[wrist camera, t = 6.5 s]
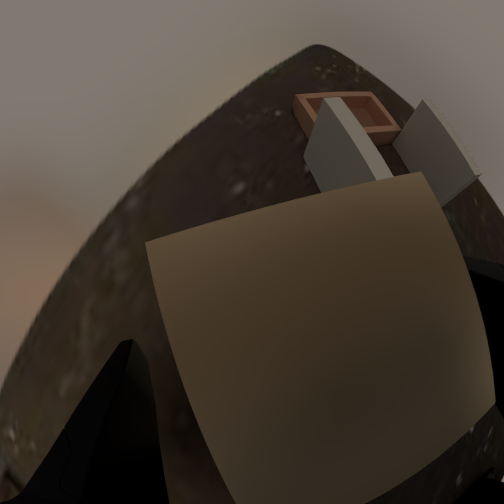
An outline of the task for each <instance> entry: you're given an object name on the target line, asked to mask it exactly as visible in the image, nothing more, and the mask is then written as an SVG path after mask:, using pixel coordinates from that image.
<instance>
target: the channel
mask: <svg viewBox="0 0 504 504" xmlns="http://www.w3.org/2000/svg"><path fill="white" fill-rule="evenodd" d="M392 145H393V146H394V148H395V149H396V151H397V152H398V154H399V156H400V157H401V159H402V160H403V162H404V164H405V165H406V167H407V169H408V170H409V172H410V173H415V172H420V171H421V172H422V173H423V175H424V177H425V179H426V180H427V182H428V184H429V186H430V187H431V189H432V191H433V193H434V195H435V197H436V199H437V201H438V203H439V205H440V206H441V207H442V206H444V205H445V204H446V203H447V202H449V201H450V200H451V199H452V198H454V197H455V196H456V195H457V194H459V193H460V192H461V191H462V190H464V189H465V188H466V187H467V186H468V185H470V184H471V183H472V182H473V181H474V180H475V179H477V178H478V177H479V176H480V175H481V174H482V173H481V171H480V169H479V167H478V166H477V164H476V162H475V161H474V159H473V158H472V156H471V154H470V153H469V151H468V149H467V148H466V146H465V145H464V144H463V142H462V140H461V139H460V137H459V136H458V135H457V133H456V132H455V130H454V129H453V128H452V126H451V125H450V124H449V122H448V121H447V120H446V118H445V117H444V115H443V114H442V113H441V112H440V111H439V109H438V108H437V107H436V105H435V104H434V103H433V102H432V101H431V100H425V99H422V101H421V102H420V104H419V105H418V107H417V108H416V110H415V111H414V113H413V114H412V116H411V117H410V119H409V120H408V122H407V123H406V125H405V126H404V127H403V129H402V130H401V132H400V133H399V135H398V136H397V138H396V139H395V140H394V142H393V143H392ZM303 158H304V160H305V162H306V164H307V165H308V167H309V169H310V171H311V173H312V175H313V177H314V179H315V181H316V183H317V185H318V187H319V189H320V191H321V193H324V192H328V191H332V190H336V189H341V188H345V187H349V186H354V185H358V184H363V183H367V182H372V181H376V180H381V179H386V178H390V177H393V175H392V173H391V171H390V170H389V168H388V166H387V165H386V163H385V161H384V160H383V158H382V156H381V155H380V153H379V152H378V150H377V148H376V147H375V145H374V144H373V142H372V141H371V139H370V138H369V136H368V135H367V133H366V132H365V130H364V129H363V127H362V126H361V125H360V123H359V122H358V120H357V119H356V118H355V116H354V115H353V113H352V112H351V111H350V109H349V108H348V107H347V105H346V104H345V103H344V102H343V100H342V99H341V98H340V97H331V98H323V100H322V103H321V106H320V109H319V112H318V115H317V118H316V121H315V124H314V127H313V130H312V133H311V136H310V139H309V141H308V144H307V147H306V150H305V153H304V156H303Z"/></svg>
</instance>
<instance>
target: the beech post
mask: <svg viewBox="0 0 504 504" xmlns="http://www.w3.org/2000/svg"><path fill="white" fill-rule="evenodd" d="M145 244H146V249H147V254H148V259H149V264H150V269H151V273H152V278H153V282H154V286H155V290H156V294H157V298H158V302H159V306H160V310H161V314H162V318H163V321H164V325H165V328H166V332H167V335H168V339H169V342H170V346H171V349H172V352H173V355H174V358H175V361H176V365H177V368H178V371H179V374H180V377H181V379H182V382H183V385H184V388H185V391H186V394H187V396H188V399H189V402H190V404H191V407H192V410H193V412H194V415H195V417H196V420H197V422H198V425H199V427H200V430H201V432H202V434H203V437H204V439H205V441H206V444H207V446H208V448H209V450H210V453H211V455H212V457H213V459H214V461H215V463H216V466H217V468H218V470H219V472H220V474H221V476H222V478H223V480H224V482H225V484H226V486H227V488H228V490H229V492H230V493H231V495H232V497H233V499H234V501H235V503H236V504H365V503H367V502H369V501H371V500H373V499H375V498H377V497H378V496H380V495H382V494H384V493H385V492H387V491H389V490H391V489H392V488H394V487H396V486H397V485H399V484H400V483H402V482H403V481H405V480H407V479H408V478H410V477H411V476H413V475H414V474H415V473H417V472H418V471H420V470H421V469H423V468H424V467H425V466H427V465H428V464H429V463H431V462H432V461H433V460H435V459H436V458H437V457H438V456H440V455H441V454H442V453H443V452H445V451H446V450H447V449H448V448H449V447H451V446H452V445H453V444H454V443H455V442H456V441H457V440H459V439H460V438H461V437H462V436H463V435H464V434H465V433H466V432H467V431H468V430H469V429H470V428H471V427H472V426H473V425H474V424H475V423H476V422H477V421H478V420H479V419H480V418H481V417H482V416H483V415H484V414H485V413H486V412H487V411H488V410H489V409H490V408H491V407H492V405H493V404H494V403H495V389H494V379H493V371H492V364H491V358H490V352H489V347H488V341H487V336H486V332H485V327H484V323H483V319H482V315H481V311H480V308H479V304H478V300H477V297H476V294H475V290H474V287H473V284H472V281H471V278H470V275H469V272H468V269H467V267H466V264H465V261H464V259H463V256H462V253H461V251H460V248H459V246H458V244H457V241H456V239H455V236H454V234H453V232H452V230H451V227H450V225H449V223H448V221H447V219H446V217H445V215H444V213H443V211H442V208H441V206H440V205H439V203H438V201H437V199H436V197H435V195H434V193H433V191H432V189H431V187H430V186H429V184H428V182H427V180H426V179H425V177H424V175H423V173H422V172H421V171H420V172H415V173H410V174H405V175H400V176H395V177H390V178H386V179H381V180H376V181H372V182H367V183H363V184H358V185H354V186H349V187H345V188H341V189H336V190H332V191H328V192H324V193H320V194H316V195H312V196H308V197H304V198H300V199H296V200H292V201H288V202H284V203H280V204H276V205H272V206H269V207H265V208H261V209H257V210H254V211H250V212H246V213H243V214H239V215H236V216H232V217H228V218H225V219H221V220H218V221H214V222H211V223H208V224H204V225H201V226H197V227H194V228H191V229H187V230H184V231H181V232H177V233H174V234H171V235H168V236H165V237H161V238H158V239H155V240H152V241H149V242H146V243H145Z"/></svg>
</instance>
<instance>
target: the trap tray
mask: <svg viewBox="0 0 504 504" xmlns="http://www.w3.org/2000/svg"><path fill="white" fill-rule="evenodd" d="M331 97H340V98H341V99H342V100H343V102H344V103H345V104H346V105H347V107H348V108H349V109H350V111H351V112H352V113H353V115H354V116H355V118H356V119H357V120H358V122H359V123H360V125H361V126H362V127H363V129H364V130H365V132H366V133H367V135H368V136H369V138H370V139H371V141H372V142H373V144H374V145H375V146H379V145H388V144H392V143H393V142H394V140H395V139H396V138H397V136H398V135H399V133H400V132H401V129H400V127H399V126H398V125H397V123H396V122H395V121H394V119H393V118H392V117H391V115H390V114H389V113H388V111H387V110H386V109H385V108H384V106H383V105H382V104H381V103H380V101H379V100H378V99H377V98H376V97H375V95H374V94H373V93H372V92H326V93H309V94H297V95H295V99H294V104H293V108H292V113H293V114H294V116H295V118H296V119H297V121H298V123H299V124H300V126H301V128H302V129H303V131H304V133H305V134H306V136H307V138H308V139H310V136H311V133H312V130H313V127H314V124H315V121H316V118H317V115H318V112H319V109H320V106H321V103H322V100H323V98H331Z"/></svg>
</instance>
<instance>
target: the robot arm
mask: <svg viewBox="0 0 504 504" xmlns="http://www.w3.org/2000/svg"><path fill="white" fill-rule="evenodd" d="M462 256H463V259H464V261H465V264H466V267H467V269H468V272H469V275H470V278H471V281H472V284H473V287H474V290H475V294H476V297H477V300H478V304H479V308H480V311H481V315H482V319H483V323H484V327H485V332H486V336H487V341H488V347H489V352H490V358H491V364H492V371H493V379H494V389H495V404H496V406H497V408H498V409H499V411H500V413H501V414H502V416H503V418H504V264H498V263H495V262H491V261H486V260H482V259H477V258H473V257H468V256H464V255H462ZM64 428H65V429H63V430H62V431H61V433H60V435H59V436H58V438H57V440H56V441H55V443H54V444H53V446H52V448H51V449H50V451H49V452H48V454H47V455H46V457H45V458H44V460H43V461H42V463H41V464H40V466H39V467H38V469H37V470H36V471H35V473H34V474H33V476H32V477H31V479H30V480H29V482H28V483H27V485H26V486H25V488H24V489H23V490H22V492H21V493H20V494H19V495H17V496H16V497H14V498H12V499H10V500H7V501H4V502H0V504H170V503H169V499H168V494H167V488H166V483H165V477H164V471H163V464H162V457H161V450H160V442H159V433H158V424H157V413H156V405H155V399H154V394H153V389H152V383H151V377H150V371H149V365H148V361H147V358H146V356H145V355H144V353H143V352H142V350H141V349H140V347H139V346H138V344H137V342H136V341H135V340H133V339H129V340H125V341H122V342H120V344H119V345H118V346H117V348H116V349H115V351H114V352H113V353H112V355H111V356H110V358H109V359H108V361H107V362H106V364H105V365H104V366H103V368H102V369H101V371H100V372H99V374H98V375H97V377H96V378H95V380H94V381H93V383H92V384H91V386H90V387H89V389H88V390H87V392H86V393H85V395H84V396H83V398H82V400H81V401H80V403H79V404H78V406H77V407H76V409H75V411H74V412H73V414H72V415H71V417H70V418H69V420H68V422H67V423H66V425H65V427H64ZM495 471H496V469H495V468H492V469H490V471H489V472H488V473H487V474H486V475H485V476H484V477H483V478H482V479H481V480H480V481H479V482H478V483H477V484H476V485H475V486H474V487H472V488H471V489H470V490H469V491H468V492H467V493H466V494H465V495H464V496H463V497H461V498H460V499H459V500H458V501H457V502H456V503H454V504H504V482H501V481H497V480H494V479H495Z"/></svg>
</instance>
